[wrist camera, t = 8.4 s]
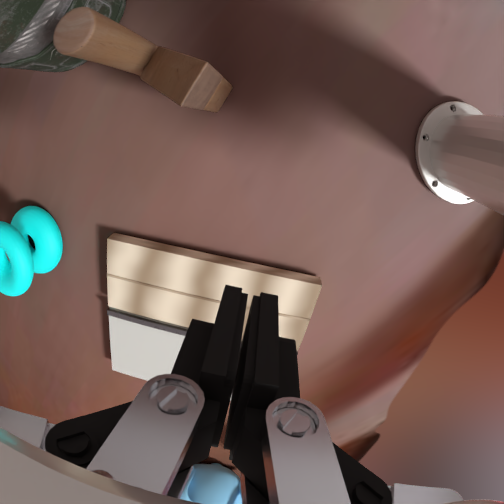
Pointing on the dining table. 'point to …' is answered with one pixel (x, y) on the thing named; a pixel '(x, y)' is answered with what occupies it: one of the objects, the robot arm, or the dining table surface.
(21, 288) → the donuts
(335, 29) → the dining table surface
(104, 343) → the dining table surface
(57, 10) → the canister
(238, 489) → the decorative pot
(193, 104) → the wooden block
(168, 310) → the plank
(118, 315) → the board
